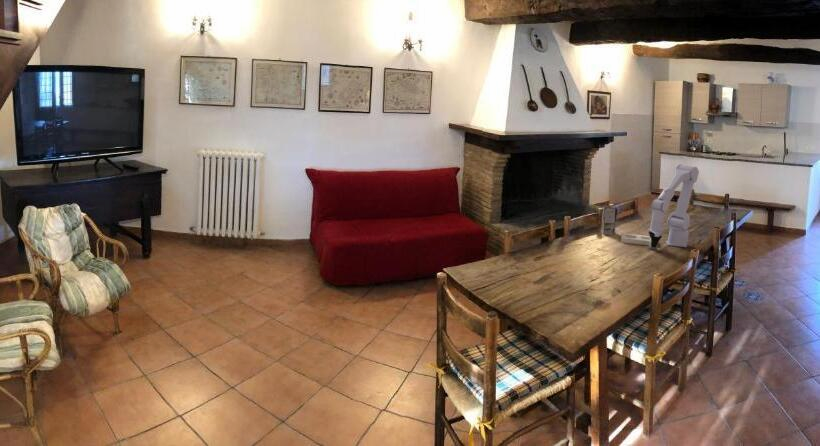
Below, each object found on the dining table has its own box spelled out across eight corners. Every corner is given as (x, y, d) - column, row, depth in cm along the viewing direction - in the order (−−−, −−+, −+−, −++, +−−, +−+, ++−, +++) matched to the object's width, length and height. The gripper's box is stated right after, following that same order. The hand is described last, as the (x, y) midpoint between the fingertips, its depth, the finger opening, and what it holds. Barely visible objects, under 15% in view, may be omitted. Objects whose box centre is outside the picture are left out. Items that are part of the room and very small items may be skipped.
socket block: (654, 240, 286) (655, 236, 286) (656, 246, 276) (657, 242, 276) (620, 237, 292) (620, 232, 291) (621, 242, 281) (622, 238, 281)
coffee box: (614, 235, 294) (618, 208, 290) (602, 234, 295) (606, 208, 291) (611, 231, 302) (615, 205, 298) (600, 230, 304) (603, 204, 299)
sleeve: (656, 248, 272) (658, 237, 271) (657, 250, 269) (659, 240, 267) (647, 247, 274) (649, 236, 272) (648, 249, 270) (650, 239, 268)
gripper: (647, 217, 275) (643, 241, 279) (650, 224, 262) (646, 249, 265) (661, 219, 273) (657, 243, 276) (665, 225, 260) (661, 250, 263)
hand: (653, 246), depth 271 cm, fingers closed on sleeve, 4 cm apart
